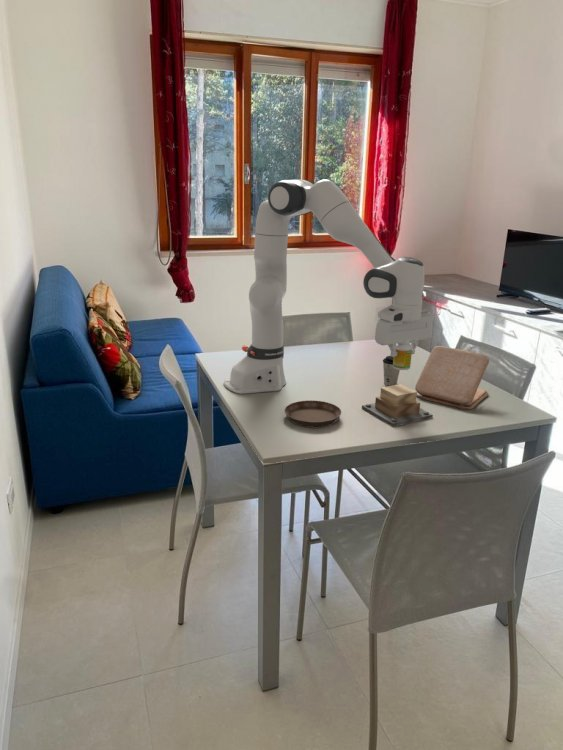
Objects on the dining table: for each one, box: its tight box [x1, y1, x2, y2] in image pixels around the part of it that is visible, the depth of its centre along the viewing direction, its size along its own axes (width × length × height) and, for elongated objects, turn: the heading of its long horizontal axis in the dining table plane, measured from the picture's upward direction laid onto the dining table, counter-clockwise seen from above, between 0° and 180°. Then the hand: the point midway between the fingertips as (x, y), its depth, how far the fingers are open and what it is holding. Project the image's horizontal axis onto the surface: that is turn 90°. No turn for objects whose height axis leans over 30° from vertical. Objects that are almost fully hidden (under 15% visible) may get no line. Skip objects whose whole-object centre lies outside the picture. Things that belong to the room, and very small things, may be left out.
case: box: [414, 345, 490, 410], centre depth 203 cm, size 20×21×16 cm
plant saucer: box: [284, 400, 342, 428], centre depth 183 cm, size 18×18×3 cm
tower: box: [361, 383, 434, 427], centre depth 188 cm, size 16×16×8 cm
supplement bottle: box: [393, 339, 413, 371], centre depth 182 cm, size 5×5×10 cm
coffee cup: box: [382, 355, 401, 386], centre depth 214 cm, size 7×7×10 cm
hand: (402, 355), depth 183 cm, fingers closed on supplement bottle, 5 cm apart
